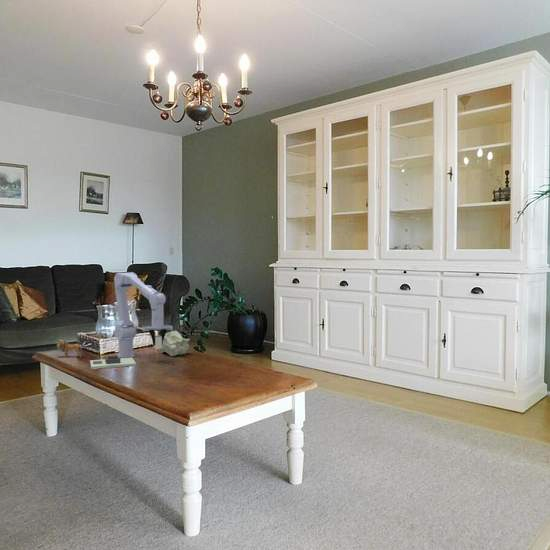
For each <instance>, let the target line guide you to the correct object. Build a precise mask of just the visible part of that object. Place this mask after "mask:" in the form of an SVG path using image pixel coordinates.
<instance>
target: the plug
mask: <svg viewBox="0 0 550 550" xmlns="http://www.w3.org/2000/svg"><path fill="white" fill-rule="evenodd" d="M153 348H154V349H155V350H161V349H162V337H161V336H160V335H159V334H158V335H157V334H155V345H153Z"/></svg>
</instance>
